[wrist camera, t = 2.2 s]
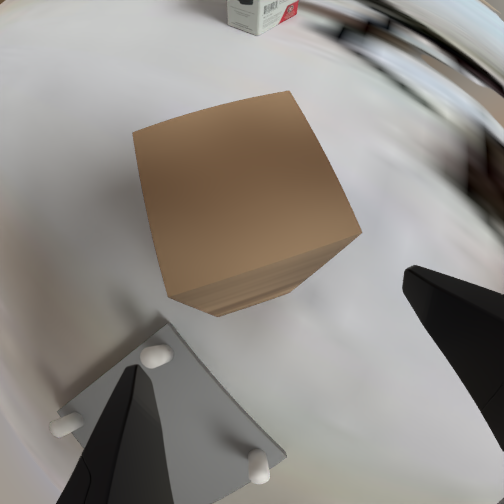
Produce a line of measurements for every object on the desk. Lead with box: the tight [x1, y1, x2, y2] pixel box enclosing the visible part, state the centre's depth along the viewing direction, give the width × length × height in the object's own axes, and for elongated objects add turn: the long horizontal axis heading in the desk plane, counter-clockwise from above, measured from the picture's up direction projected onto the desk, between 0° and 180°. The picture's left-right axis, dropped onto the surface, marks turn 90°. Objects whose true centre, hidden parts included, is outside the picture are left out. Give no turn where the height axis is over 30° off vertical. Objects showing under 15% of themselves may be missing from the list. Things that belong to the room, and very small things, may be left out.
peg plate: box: [49, 323, 287, 504], centre depth 15 cm, size 12×12×4 cm
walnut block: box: [133, 91, 362, 317], centre depth 14 cm, size 5×5×13 cm
